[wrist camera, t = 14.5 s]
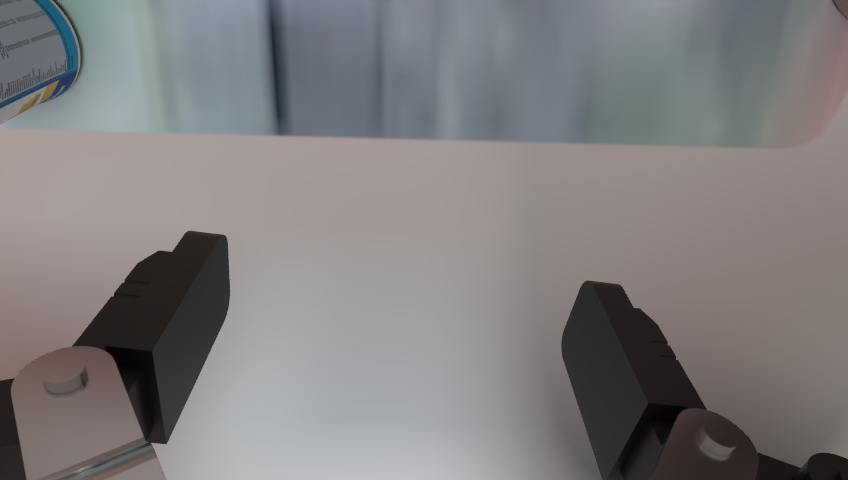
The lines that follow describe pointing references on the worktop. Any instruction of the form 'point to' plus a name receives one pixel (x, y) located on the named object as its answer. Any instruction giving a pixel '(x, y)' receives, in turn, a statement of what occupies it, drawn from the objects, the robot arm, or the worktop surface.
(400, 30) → the worktop surface
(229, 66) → the worktop surface
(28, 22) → the teal labeled canister
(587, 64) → the worktop surface
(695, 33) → the worktop surface
